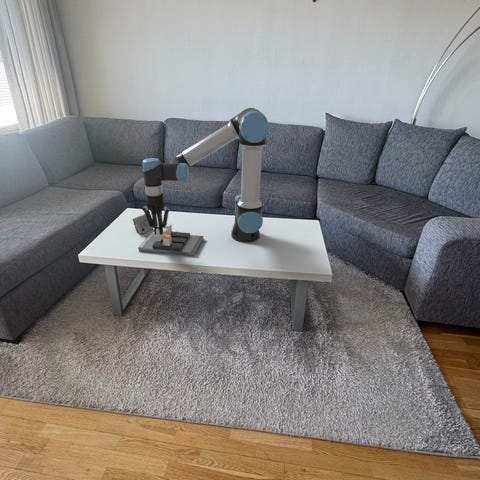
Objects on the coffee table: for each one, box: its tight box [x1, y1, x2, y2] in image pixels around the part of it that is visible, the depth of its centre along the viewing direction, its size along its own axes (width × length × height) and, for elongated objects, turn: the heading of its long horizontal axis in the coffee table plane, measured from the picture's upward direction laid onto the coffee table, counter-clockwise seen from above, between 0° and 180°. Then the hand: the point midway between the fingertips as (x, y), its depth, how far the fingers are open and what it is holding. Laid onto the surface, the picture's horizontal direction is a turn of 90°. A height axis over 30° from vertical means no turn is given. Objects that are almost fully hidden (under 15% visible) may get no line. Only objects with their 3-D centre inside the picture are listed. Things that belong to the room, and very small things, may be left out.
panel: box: [137, 231, 205, 258], centre depth 166 cm, size 28×18×4 cm, turn 81°
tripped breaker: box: [163, 234, 172, 246], centre depth 159 cm, size 3×3×4 cm
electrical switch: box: [132, 213, 154, 235], centre depth 179 cm, size 9×5×9 cm, turn 141°
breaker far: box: [163, 223, 173, 234], centre depth 170 cm, size 3×3×4 cm
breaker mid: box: [162, 228, 168, 239], centre depth 165 cm, size 3×3×4 cm
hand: (159, 239), depth 160 cm, fingers closed
